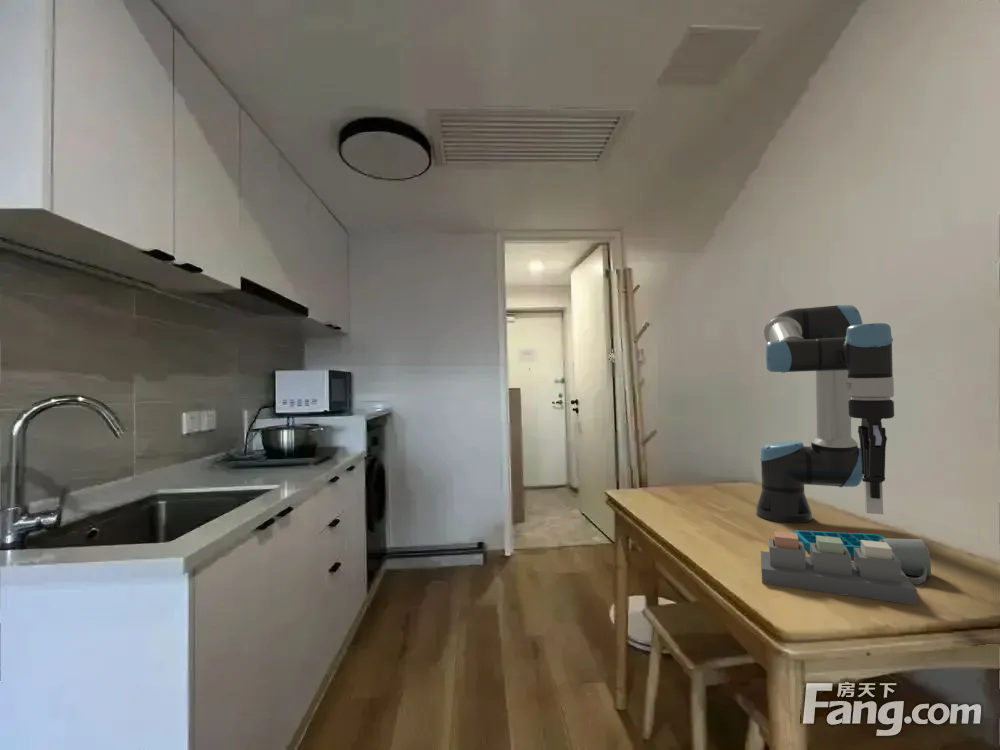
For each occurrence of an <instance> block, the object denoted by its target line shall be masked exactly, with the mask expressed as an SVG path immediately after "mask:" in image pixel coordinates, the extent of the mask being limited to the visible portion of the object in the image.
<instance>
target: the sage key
mask: <svg viewBox="0 0 1000 750" xmlns="http://www.w3.org/2000/svg"><path fill="white" fill-rule="evenodd" d="M816 550H817V551H818V552H827V553H836V554H844V545H843V542H842V540H841V539H840V538H837V537H827V536H817V535H816Z"/></svg>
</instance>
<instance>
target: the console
mask: <svg viewBox="0 0 1000 750" xmlns="http://www.w3.org/2000/svg"><path fill="white" fill-rule="evenodd" d="M760 565H761V566H760V567H761V582H762V584H768V585H774V586H781V587H789V588H796V589H802V590H808V591H809V590H810V591H815V592H824V593H831V594H838V595H843V594H844V596H850V595H851V596H852V597H858V598H865V599H866V598H867V599H872V600H877V601H885V602H893V603H900V604H908V605H913V606H917V605H918V594H917V592H918V591H917V588H916V586H914V585H915V584H912V583H911V582H910V580H909V579H908V578H907V577H908V576H907V574H904V573H903V571H902V570H901V562H900V561H899V559H898V558H897V557H896V556H895V554H894V553H893V552H892V560H889V559H880V558H871V557H864V556H863V555H862V553H861V548H855V547H854V557H853V561H852V556H851V555H850V553H849V552H848V550H847V548H846V546H844V554H836V553H827V552H818V551H817V550H816V543H810V553H809V556H806V549H805V548H804V545H803V542H799V549H792V548H783V547H775V542H774V538H770V537H769V538H768V551H764V550H763V551H762V550H761V551H760Z"/></svg>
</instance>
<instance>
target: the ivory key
mask: <svg viewBox="0 0 1000 750" xmlns="http://www.w3.org/2000/svg"><path fill="white" fill-rule="evenodd" d="M861 553H862V555H863V556H864V557H871V558H880V559H889V560H892V549H891V547H890V546H889V545H888V544H887V543H886V542H877V541H867V540H861Z"/></svg>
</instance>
